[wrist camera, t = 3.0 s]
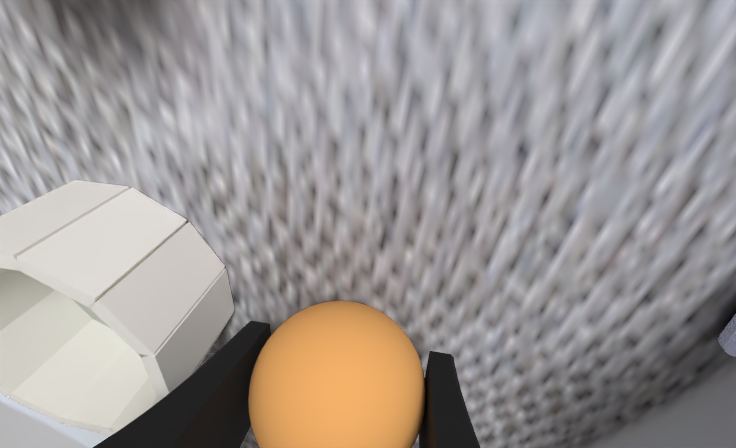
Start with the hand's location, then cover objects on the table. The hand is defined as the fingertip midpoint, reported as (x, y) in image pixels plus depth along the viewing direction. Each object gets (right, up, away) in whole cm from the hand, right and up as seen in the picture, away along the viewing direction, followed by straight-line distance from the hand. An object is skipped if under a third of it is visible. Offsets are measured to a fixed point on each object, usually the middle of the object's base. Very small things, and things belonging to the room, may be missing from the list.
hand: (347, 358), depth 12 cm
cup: (-8, +2, +3) cm, 9 cm away
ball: (0, -1, -1) cm, 1 cm away
